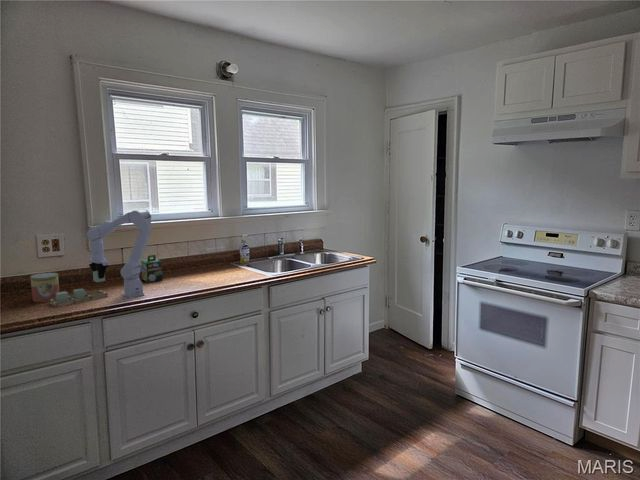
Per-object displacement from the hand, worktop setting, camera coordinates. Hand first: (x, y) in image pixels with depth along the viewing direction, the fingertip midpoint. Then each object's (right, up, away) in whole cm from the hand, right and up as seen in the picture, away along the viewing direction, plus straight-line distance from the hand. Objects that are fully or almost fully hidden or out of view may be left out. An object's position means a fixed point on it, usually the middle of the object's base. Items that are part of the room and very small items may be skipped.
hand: (99, 277), depth 211 cm
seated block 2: (-3, -10, -11) cm, 15 cm away
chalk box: (+15, -4, +31) cm, 34 cm away
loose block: (0, -2, 0) cm, 2 cm away
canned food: (-20, -10, -10) cm, 25 cm away
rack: (-3, -10, -11) cm, 16 cm away
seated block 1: (-8, -11, -17) cm, 22 cm away
